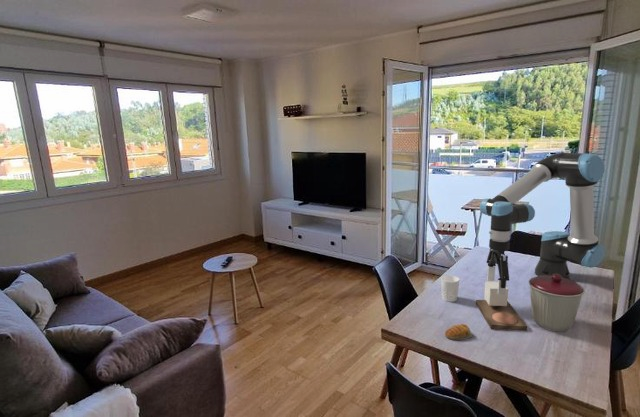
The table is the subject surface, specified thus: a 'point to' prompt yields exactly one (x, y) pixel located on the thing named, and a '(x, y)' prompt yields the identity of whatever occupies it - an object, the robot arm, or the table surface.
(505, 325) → the board
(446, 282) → the white cup
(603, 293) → the table surface
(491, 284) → the matte off-white cube
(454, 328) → the pastry
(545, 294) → the canister
